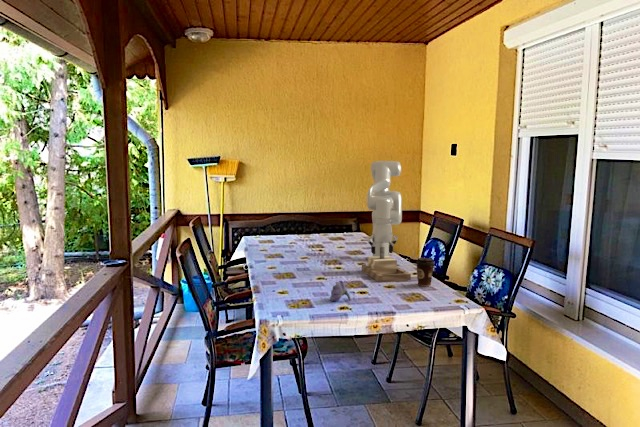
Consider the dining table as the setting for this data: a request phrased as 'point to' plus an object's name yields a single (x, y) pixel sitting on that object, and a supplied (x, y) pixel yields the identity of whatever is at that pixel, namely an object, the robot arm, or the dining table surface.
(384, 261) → the square knob plate
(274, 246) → the dining table surface
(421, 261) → the coffee cup
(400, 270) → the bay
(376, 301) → the dining table surface
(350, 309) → the dining table surface
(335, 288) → the grey arched piece
